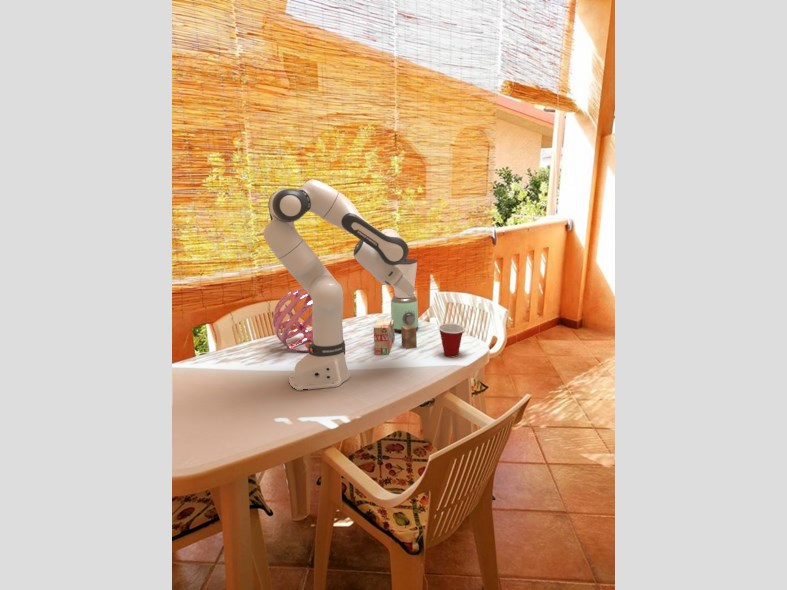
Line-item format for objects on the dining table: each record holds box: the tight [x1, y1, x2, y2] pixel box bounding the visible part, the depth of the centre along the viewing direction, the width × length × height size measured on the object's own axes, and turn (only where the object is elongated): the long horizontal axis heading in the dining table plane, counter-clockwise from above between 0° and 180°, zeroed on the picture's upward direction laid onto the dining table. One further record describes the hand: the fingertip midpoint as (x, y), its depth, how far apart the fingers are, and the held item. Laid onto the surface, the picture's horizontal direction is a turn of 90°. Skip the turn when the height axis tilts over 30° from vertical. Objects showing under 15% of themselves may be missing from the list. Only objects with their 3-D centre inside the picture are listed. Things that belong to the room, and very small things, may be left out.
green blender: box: [390, 258, 419, 334], centre depth 236 cm, size 19×13×35 cm
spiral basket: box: [272, 287, 313, 353], centre depth 215 cm, size 28×28×27 cm
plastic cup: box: [437, 323, 466, 357], centre depth 202 cm, size 11×11×12 cm
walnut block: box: [401, 325, 418, 350], centre depth 214 cm, size 5×5×9 cm
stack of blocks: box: [373, 318, 395, 356], centre depth 215 cm, size 21×6×12 cm, turn 173°
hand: (411, 295), depth 191 cm, fingers closed
